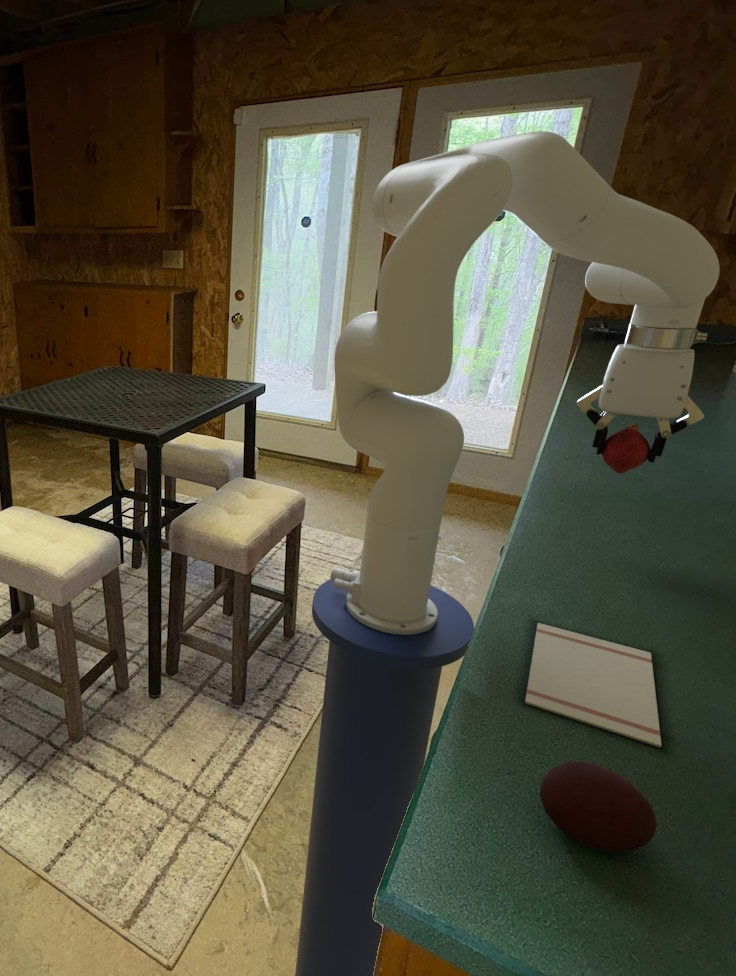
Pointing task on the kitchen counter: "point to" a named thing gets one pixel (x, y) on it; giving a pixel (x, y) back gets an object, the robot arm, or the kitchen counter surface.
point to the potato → (597, 807)
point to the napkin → (594, 683)
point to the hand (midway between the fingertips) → (624, 455)
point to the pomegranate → (626, 449)
